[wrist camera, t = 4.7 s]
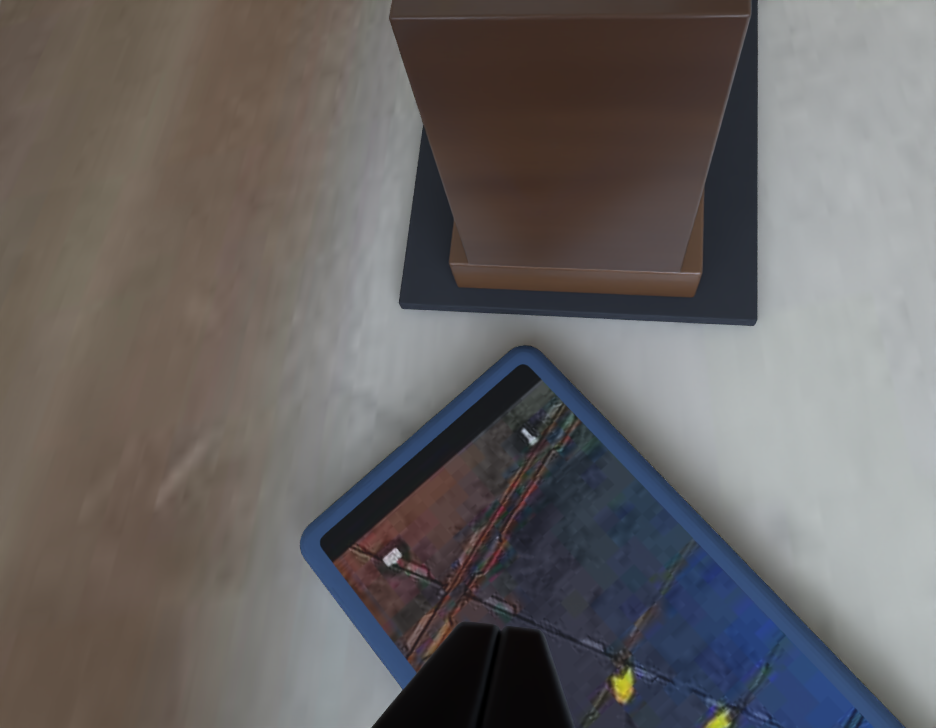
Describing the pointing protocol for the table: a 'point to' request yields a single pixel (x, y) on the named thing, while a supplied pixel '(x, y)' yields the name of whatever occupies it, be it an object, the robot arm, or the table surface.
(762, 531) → the table surface
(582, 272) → the brown picture frame
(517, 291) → the word mat
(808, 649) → the smartphone
